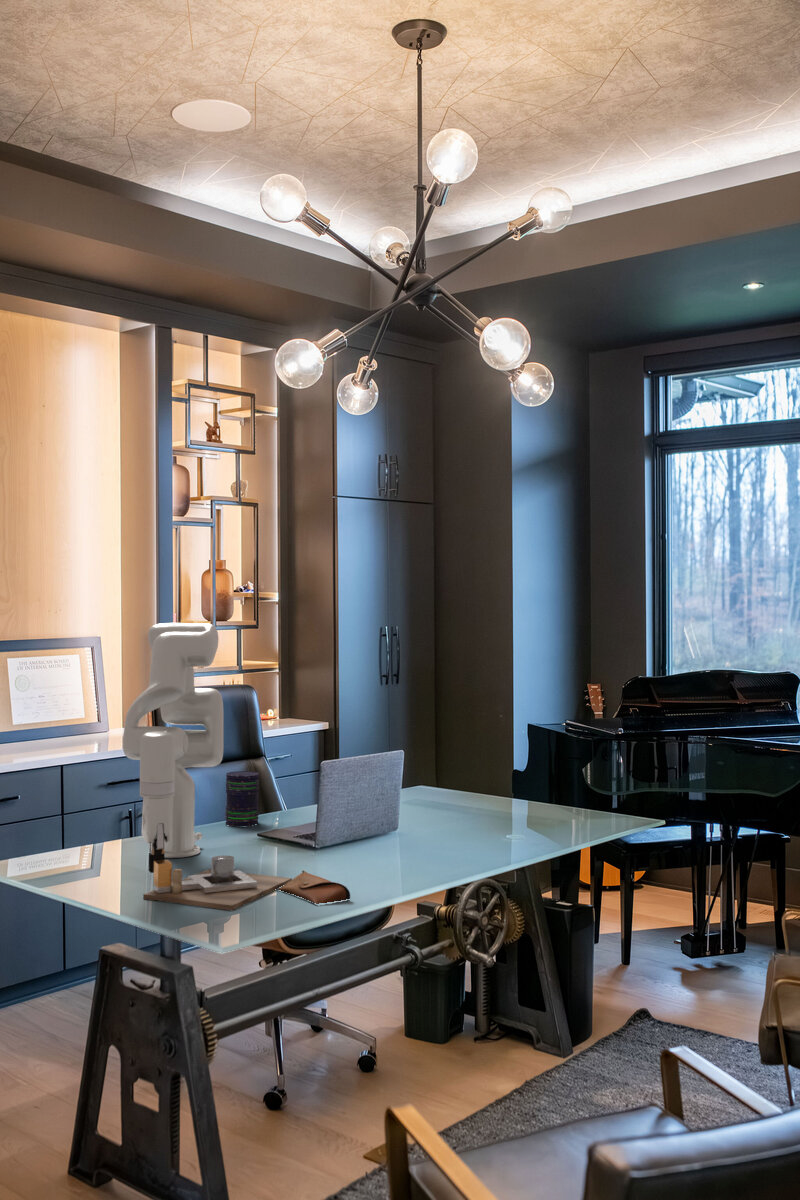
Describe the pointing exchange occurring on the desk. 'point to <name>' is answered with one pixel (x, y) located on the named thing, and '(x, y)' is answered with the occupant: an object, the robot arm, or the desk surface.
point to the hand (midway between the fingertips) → (156, 871)
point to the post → (222, 869)
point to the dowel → (176, 881)
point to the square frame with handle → (197, 880)
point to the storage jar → (242, 798)
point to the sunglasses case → (316, 889)
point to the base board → (222, 893)
